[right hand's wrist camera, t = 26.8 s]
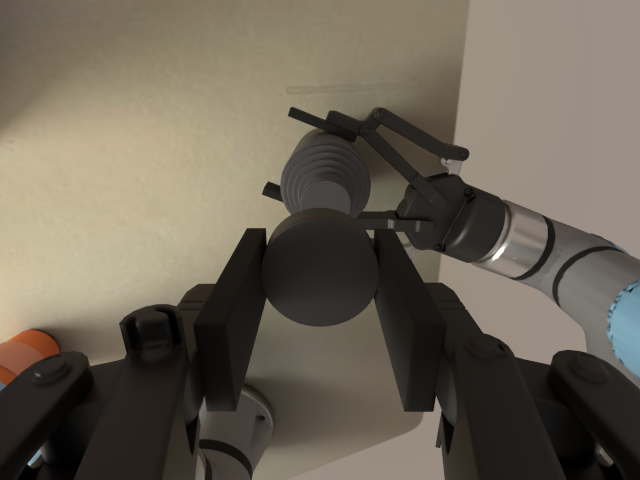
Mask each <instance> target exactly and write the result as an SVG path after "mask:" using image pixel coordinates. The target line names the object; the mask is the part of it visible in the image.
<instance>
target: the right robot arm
mask: <svg viewBox="0 0 640 480" xmlns="http://www.w3.org/2000/svg"><path fill="white" fill-rule="evenodd" d="M373 247H374V250H375V253H376V256H377V259H378V262H379V280H378V287H377V290H376V293H375V295H374V301H375V304H376V308H377V312H378V315H379V319H380V323H381V326H382V330H383V334H384V338H385V341H386V345H387V349H388V352H389V356H390V360H391V364H392V367H393V371H394V375H395V378H396V382H397V386H398V390H399V393H400V397H401V401H402V404H403V408H404V412H433V411H434V404H435V398H436V396H437V399H438V401H439V404H440V406H441V409H442V412H441V418H440V424H439V429H438V435H437V441H436V447H438V448H440V446H442V456H443V466H444V475H445V480H640V389H639V388H638V387H637V386H636V385H635V384H634V383H633V382H632V381H630V380H629V379H628V378H627V377H626V376H625V375H624V374H623V373H621V372H620V371H619V370H618V369H617V368H615V367H614V366H612V365H611V364H610V363H608V362H607V361H604V360H602V359H600V358H598V357H596V356H594V355H592V354H589V353H585V352H581V351H573V350H564V351H559V352H557V353H556V354H555V355H554V356H553V358H552V362H551V365H548V364H543V363H538V362H534V361H529V360H524V359H521V358H517V357H515V356H514V354H513V352H512V351H511V349H510V348H509V347H508V345H506V344H505V343H504V342H502V341H501V340H500V339H497V338H495V337H493V336H491V335H488V334H484V333H483V332H482V331H481V329H480V328H479V327H478V325H477V324H476V322H475V321H474V319H473V318H472V317H471V315H470V314H469V312H468V311H467V310H465V306H464V305H463V304H462V302H460V299H459V298H458V296H457V295H456V294H455V292H454V291H453V290H452V289H450V288H449V287H447V286H446V285H444V284H443V283H424V282H423V280H422V279H421V277H420V275H419V273H418V272H417V270H416V268H415V266H414V264H413V263H412V261H411V259H410V257H409V256H408V254H407V252H406V250H405V249H404V247H403V245H402V243H401V241H400V240H399V238H398V236H397V234H396V233H395V231H394V229H393V228H374V245H373ZM266 248H267V241H266V228H247V229H246V231H245V233H244V235H243V237H242V238H241V240H240V242H239V244H238V245H237V247H236V249H235V251H234V252H233V254H232V256H231V258H230V260H229V261H228V263H227V265H226V267H225V268H224V270H223V272H222V274H221V275H220V277H219V279H218V281H217V283H216V284H198V285H196V286H195V287H193V288H192V289H190V290H189V291H187V292H186V294H185V295H184V297H183V298H182V300H181V302H180V303H179V304H178V305H177V307H176V306H173V305H168V304H156V305H151V306H147V307H143V308H141V309H138V310H136V311H133V312H132V313H130V314H129V315H127V316H126V317H124V319H123V320H122V321H121V322H120V323H119V324H120V328H121V332H122V336H123V340H124V344H125V348H126V352H127V354H126V357H125V359H121V360H118V361H114V362H109V363H104V364H99V365H95V366H90V364H89V361H88V357H87V356H85V355H84V354H83V353H80V352H74V351H72V352H63V353H58V354H55V355H51V356H48V357H45V358H44V359H42V360H40V361H38V362H35V363H34V364H32V365H31V366H29V367H28V368H27V369H25V370H24V371H22V372H21V373H20V374H19V375H18V376H17V377H16V378H15V379H14V380H12V381H11V382H10V383H9V384H8V385H7V386H6V387H5V388H3V389H2V390H1V391H0V480H195V476H196V467H197V457H198V447H199V437H200V427H201V424H200V418H199V412H198V411H199V409H200V406H201V404H202V401H203V398H204V397H205V403H206V409H207V412H236V409H237V405H238V402H239V398H240V394H241V390H242V387H243V383H244V379H245V376H246V372H247V368H248V364H249V361H250V357H251V353H252V350H253V346H254V342H255V338H256V335H257V331H258V327H259V324H260V320H261V316H262V312H263V309H264V305H265V301H266V298H267V297H266V295H265V293H264V290H263V287H262V277H261V263H262V259H263V256H264V253H265V250H266ZM601 447H602V449H603V450H604V451H605V452H606V453H607V455H608V456H609V457H610V458H611V460H612V461H613V464H612V465H611V464H610V463H609V462H608V461H606V460H605V458H604V457H603V456H602V455H601V453H600V450H601ZM39 449H40V451H41V455H40V456H39V457H38V458H37V460H36V461H35V462H33V463H32V464H31V465H30V466H29V465H28V463H29V461H30V460H31V459H32V458H33V456H34V455H35V454H36V453H37V452H38V450H39Z"/></svg>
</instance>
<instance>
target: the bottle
mask: <svg viewBox="0 0 640 480" xmlns="http://www.w3.org/2000/svg"><path fill="white" fill-rule="evenodd" d="M370 187H371V184H370V176H369V172H368V170H367V167H366V165H365V163H364V162H363V160H362V159H361V157H360V156H359V154H358V153H357V151H356V150H355V148H354V147H353V145H352V144H351V142H350V141H349V140H347V139H344V138H342V137H339V136H337V135H334V134H332V133H329V132H327V131H324V130H322V129H315V130H313V131H311V132H309V133H307V134H306V135H305V136H304V137H303V138H302V139H301V140H300V142H299V143H298V145H297V147H296V148H295V150H294V152H293V153H292V155H291V157H290V158H289V160H288V162H287V164H286V165H285V167H284V170H283V172H282V176H281V183H280V188H281V196H282V199H283V202H284V204H285V206H286V208H287V210H288V211H289V213H290V214H291V215H292V214H294V213H296V212H299V211H302V210H305V209H310V208H330V209H335V210H338V211H341V212H343V213H346V214H348V215H349V216H351V217H353V218H354V219H356V218H357V217H358V216H359V215H360V213H361V212H362V211H363V209H364V208H365V206H366V204H367V202H368V199H369V195H370Z"/></svg>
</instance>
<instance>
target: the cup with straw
mask: <svg viewBox="0 0 640 480" xmlns="http://www.w3.org/2000/svg"><path fill="white" fill-rule="evenodd" d="M58 353H60V351H59V347H58V345H57V343H56V342H55V340H54V339H53V338H51V337H50V336H49V335H47V334H45V333H43V332H40V331H36V330H27V331H24V332H22V333H20V334H18V335H16V336H15V337H13V338H12V339H10V340H8V341H7V342H4V343H1V344H0V391H1V390H2V389H3V388H5V387H6V386H7V385H8V384H9V383H10V382H11V381H12V380H14V379H15V378H16V377H17V376H18V375H19V374H20V373H21V372H22V371H24V370H25V369H27V368H28V367H29V366H31V365H32V364H34V363H35V362H38V361H40V360H42V359H44V358H45V357H48V356H51V355H55V354H58Z"/></svg>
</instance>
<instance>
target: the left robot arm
mask: <svg viewBox="0 0 640 480" xmlns="http://www.w3.org/2000/svg"><path fill="white" fill-rule="evenodd" d="M288 116H290V117H292V118H294V119H297V120H299V121H302V122H304V123H307V124H309V125H312V126H314V127H317V128H319V129H322V130H324V131H327V132H329V133H332V134H334V135H337V136H339V137H342V138H344V139H347V140H349V141H352V142H355V139H356V137H357V135H359V136H361V137H363V138H364V139H365V140H366V141H367V142H368V143H369V144H370V145H371V146H372V147H373V148H374V149H375V150H376V151H377V152H378V153H379V154H380V155H381V156H382V157H383V158H384V159H385V160H387V161H388V162H389V163H390V164H391V165H392V166H393V167H394V168H395V169H396V170H397V171H398V172H399V173H400V174H401V175H402V176H403V177H404V178H405V179H406V180H407V181H408V182H409V183H410V184H411V185H410V184H409V185H408V187H407V189H406V191H405V196H404V199H403V200H402V201H401V203H400V204H399V205H398V207H397V209H396V210H388V211H385V212H361V213H360V215H359V216H358V217H357V218H356V219H355V220H356V221H358V222H359V223H360V224H361V225H362V226H363V228H364V229H365V230H374V228H393V229H394V231H395V232H405V234H406V236H407V237H408V239H409V241H410V242H409V243H407V244H402V245H403V247H404V249H405V250H406V252H407V254H408V256H409V257H410V259H411V258H412V257H413V256H414V255H415V253H416V252H417V251H418V250H434V251H437V252H439V253H442V254H445V255H447V256H450V257H453V258H456V259H458V260H461V261H464V262H467V263H472V264H473V265H475V266H477V267H480V268H482V269H485V270H488V271H491V272H493V273H496V274H499V275H502V276H505V277H508V278H510V279H513V280H516V281H518V282H521V283H523V284H526V285H528V286H531V287H533V288H536V289H538V290H540V291H541V292H543V293H544V294H545V295H547V296H548V297H549V298H550V299H551V300H552V301H554V302H555V303H556V304H557V305H558V306H559V307H560V308H561V309H562V310H563V311H564V312H565V313H566V314H568V315H569V316H570V317H571V318H572V319H573V320H574V321H576V322H577V323H578V324H579V325H580V326H581V327H582V329H583V331H584V333H585V338H586V346H587V353H589V354H592V355H594V356H596V357H598V358H600V359H602V360H604V361H607V362H608V363H610V364H611V365H612V366H614V367H615V368H617V369H618V370H619V371H620V372H621V373H623V374H624V375H625V376H626V377H627V378H628V379H629V380H630V381H632V382H633V383H634V384H635V385H636V386H637V387H638V388H639V389H640V260H639V259H637V258H635V257H633V256H630V255H629V253H628V252H627V251H625V250H624V249H623V248H621V247H619V246H617V245H615V244H614V243H612V242H610V241H608V240H606V239H604V238H603V237H600V236H598V235H595V234H591V233H590V234H589V233H586V232H584V231H582V230H579V229H577V228H574V227H571V226H569V225H566V224H563V223H561V222H558V221H555V220H552V219H550V218H547V217H545V216H543V215H541V214H539V213H537V212H534V211H532V210H529V209H527V208H525V207H522V206H520V205H517V204H515V203H512V202H510V201H507V200H501V199H500V198H499V197H497V196H495V195H492V194H490V193H488V192H485V191H483V190H480V189H478V188H475V187H473V186H470V185H468V184H466V183H464V182H463V180H462V179H461V177H459V176H458V175H459V172H460V168H461V165H462V161H464V160H466V159H467V158H468V157H469V151H468V150H467V149H466V148H463V147H460V146H457V145H451V144H445V143H442V142H440V141H439V140H437V139H435V138H434V137H432V136H430V135H429V134H427V133H425V132H423V131H422V130H420V129H418V128H417V127H415V126H413V125H412V124H410V123H408V122H407V121H405V120H403V119H401V118H400V117H398V116H396V115H395V114H393V113H391V112H390V111H388V110H386V109H384V108H380V107H376V108H374V109H373V110H372V112H371V113H370V114H369V115H368V117H367V118H366V119H364V120H356V119H354V118H351V117H349V116H347V115H344V114H342V113H339V112H337V111H329V113H328V115H327V118H326V120H324V119H321V118H319V117H316V116H314V115H311V114H309V113H306V112H304V111H301V110H299V109H296V108H294V107H291V108H290V111H289V114H288ZM380 124H382V125H384V126H386V127H387V128H389V129H391V130H393V131H394V132H396V133H398V134H400V135H401V136H403V137H405V138H406V139H408V140H410V141H412V142H413V143H415V144H417V145H418V146H420V147H422V148H424V149H425V150H427V151H429V152H431V153H433V154H435V155H437V156H439V159H438V160H439V163H440V164H441V165H443V166H445V168H446V172H445V173H441V174H437V175H433V176H429V177H425V178H423V177H422V176H421V175H420V174H419V173H418V172H417V171H416V170H415V169H414V168H413V167H412V166H411V165H410V164H409V163H408V162H407V161H406V160H405V159H404V158H403V157H402V156H401V155H400V154H399V153H398V152H397V151H396V150H395V149H393V148H392V147H391V146H390V145H389V144H388V143H387V142H386V141H385V140H384V139H383V138H382V137H381V136H380V135H379V134H378V133H377V132H376V131H375V130H376V128H377V127H378V126H379V125H380ZM262 195H265V196H268V197H270V198H273V199H276V200H278V201H281V202H283V199H282V196H281V188H280V186H279V185H276V184H274V183H271V182H268V183H267V184H266V186H265V187H264V190H263V193H262ZM370 239H371V242H372V245H374V239H372V238H370ZM198 412H199V418H200V424H201V427H200V437H199V447H198V457H197V467H196V476H195V480H252V475H253V471H254V469H255V468H256V466H257V464H258V462H259V460H260V458H261V456H262V455H263V453H264V451H265V449H266V447H267V445H268V444H269V442H270V440H271V437H272V433H273V426H274V414H273V410H272V408H271V406H270V404H269V402H268V401H267V400H266V399H265V398H264V396H262V395H261V394H260V393H259V392H258V391H256V390H255V389H253V388H251V387H249V386H247V385H245V384H243V387H242V390H241V394H240V398H239V402H238V405H237V409H236V412H207V409H206V403H205V397H204V398H203V401H202V404H201V406H200V409H199V411H198ZM600 453H601V455H602V456H603V457H604V458H605V460H606V461H608V462H609V463H610V464H611V465H612V464H613V461H612V460H611V458H610V457H609V456H608V455H607V453H606V452H605V451H604V450H603V449H602V447H601V450H600ZM40 455H41V451H40V449H39V450H38V452H37V453H36V454H35V455H34V456H33V458H32V459H31V460H30V461H29V463H28V465H29V466H30V465H31V464H32V463H33V462H35V461H36V460H37V458H38V457H39V456H40Z"/></svg>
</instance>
